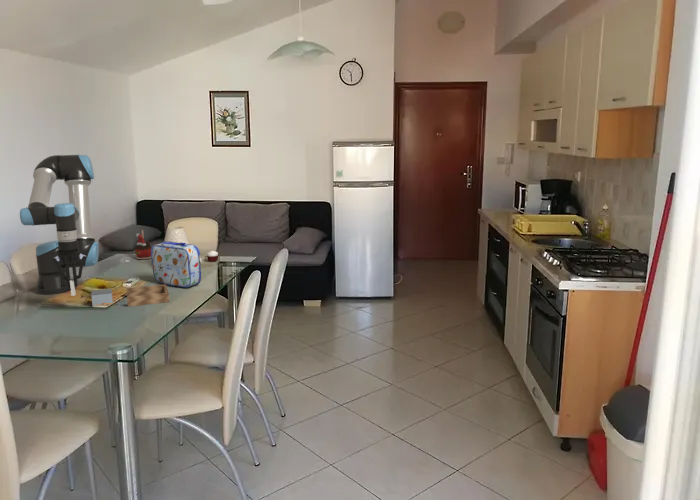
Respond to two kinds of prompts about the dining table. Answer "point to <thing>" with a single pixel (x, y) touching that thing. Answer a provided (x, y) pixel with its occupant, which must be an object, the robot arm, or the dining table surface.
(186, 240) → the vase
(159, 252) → the lunch box
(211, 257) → the cocoa
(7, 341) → the dining table surface
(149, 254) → the cake
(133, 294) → the bay
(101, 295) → the gray block
